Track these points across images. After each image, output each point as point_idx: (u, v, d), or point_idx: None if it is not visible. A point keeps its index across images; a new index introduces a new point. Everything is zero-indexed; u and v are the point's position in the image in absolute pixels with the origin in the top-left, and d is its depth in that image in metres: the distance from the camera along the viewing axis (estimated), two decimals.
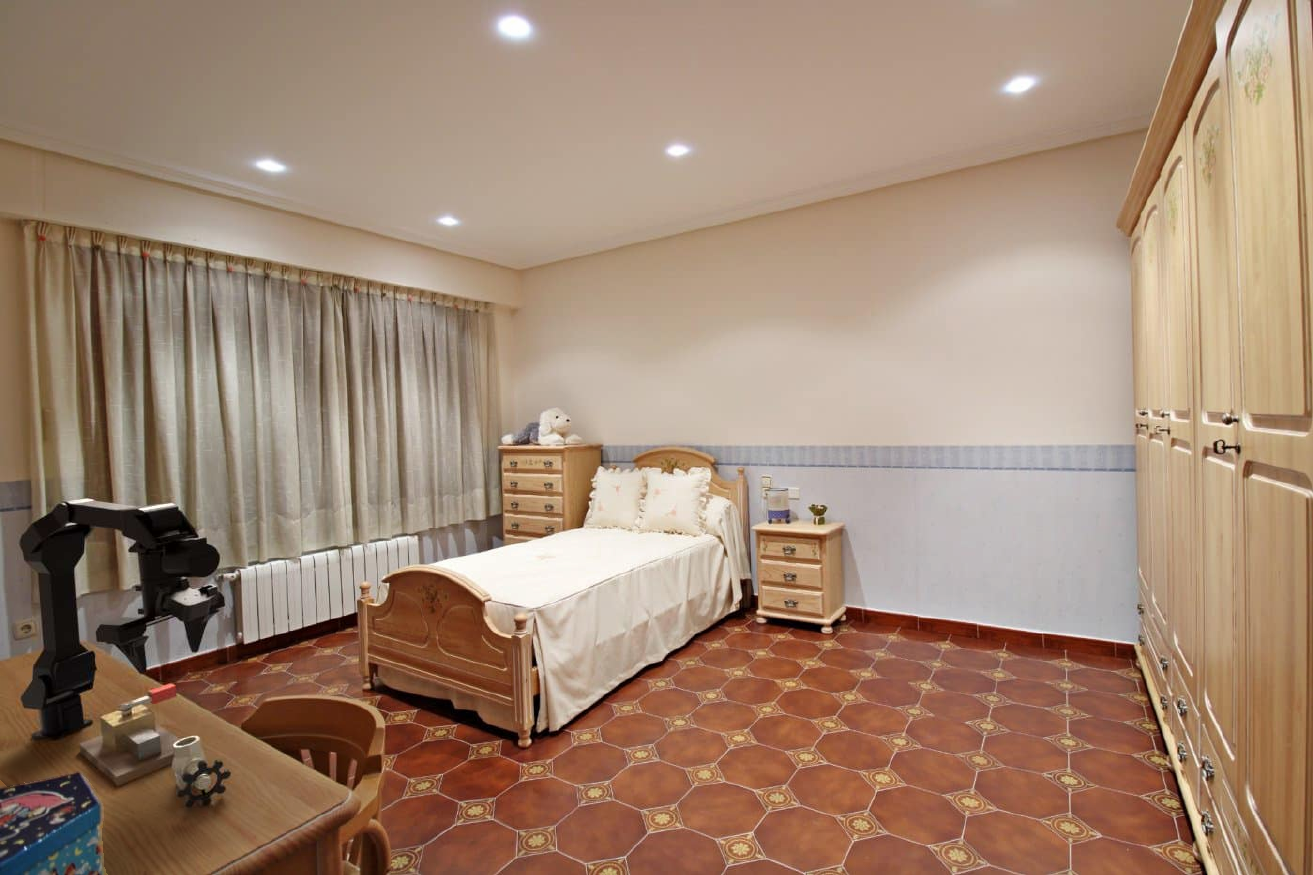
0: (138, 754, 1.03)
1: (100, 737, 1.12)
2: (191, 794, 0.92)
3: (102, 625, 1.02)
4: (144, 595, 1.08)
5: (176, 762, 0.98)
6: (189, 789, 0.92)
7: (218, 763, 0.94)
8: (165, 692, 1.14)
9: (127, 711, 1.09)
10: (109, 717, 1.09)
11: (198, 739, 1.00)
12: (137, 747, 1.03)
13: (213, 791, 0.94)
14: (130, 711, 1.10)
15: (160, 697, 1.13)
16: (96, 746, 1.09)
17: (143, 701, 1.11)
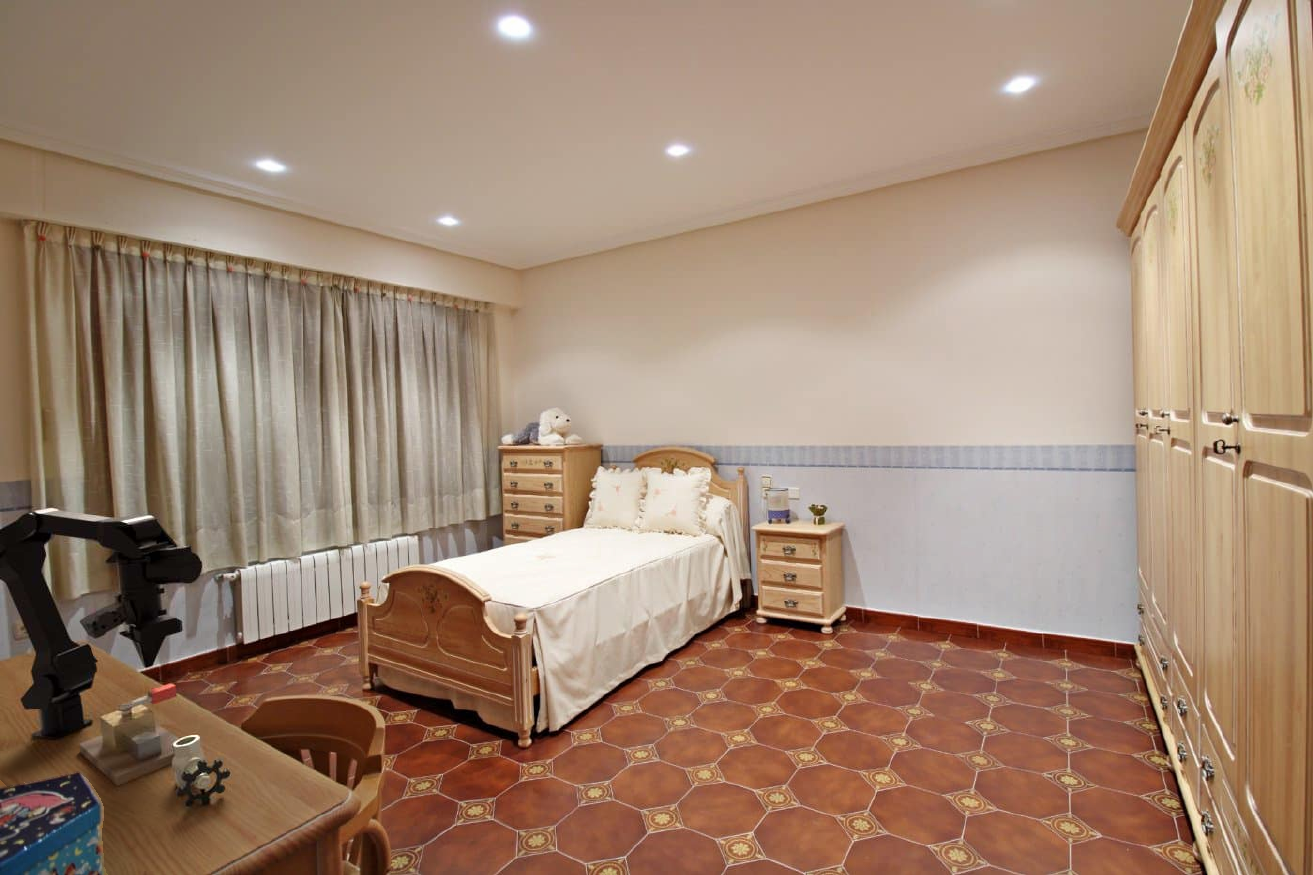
0: (138, 754, 1.03)
1: (100, 737, 1.12)
2: (191, 793, 0.92)
3: None
4: None
5: (176, 761, 0.98)
6: (189, 788, 0.92)
7: (218, 762, 0.94)
8: (165, 692, 1.14)
9: (127, 711, 1.09)
10: (109, 717, 1.09)
11: (198, 738, 1.00)
12: (137, 747, 1.03)
13: (212, 790, 0.94)
14: (130, 711, 1.10)
15: (160, 697, 1.13)
16: (96, 746, 1.09)
17: (143, 701, 1.11)
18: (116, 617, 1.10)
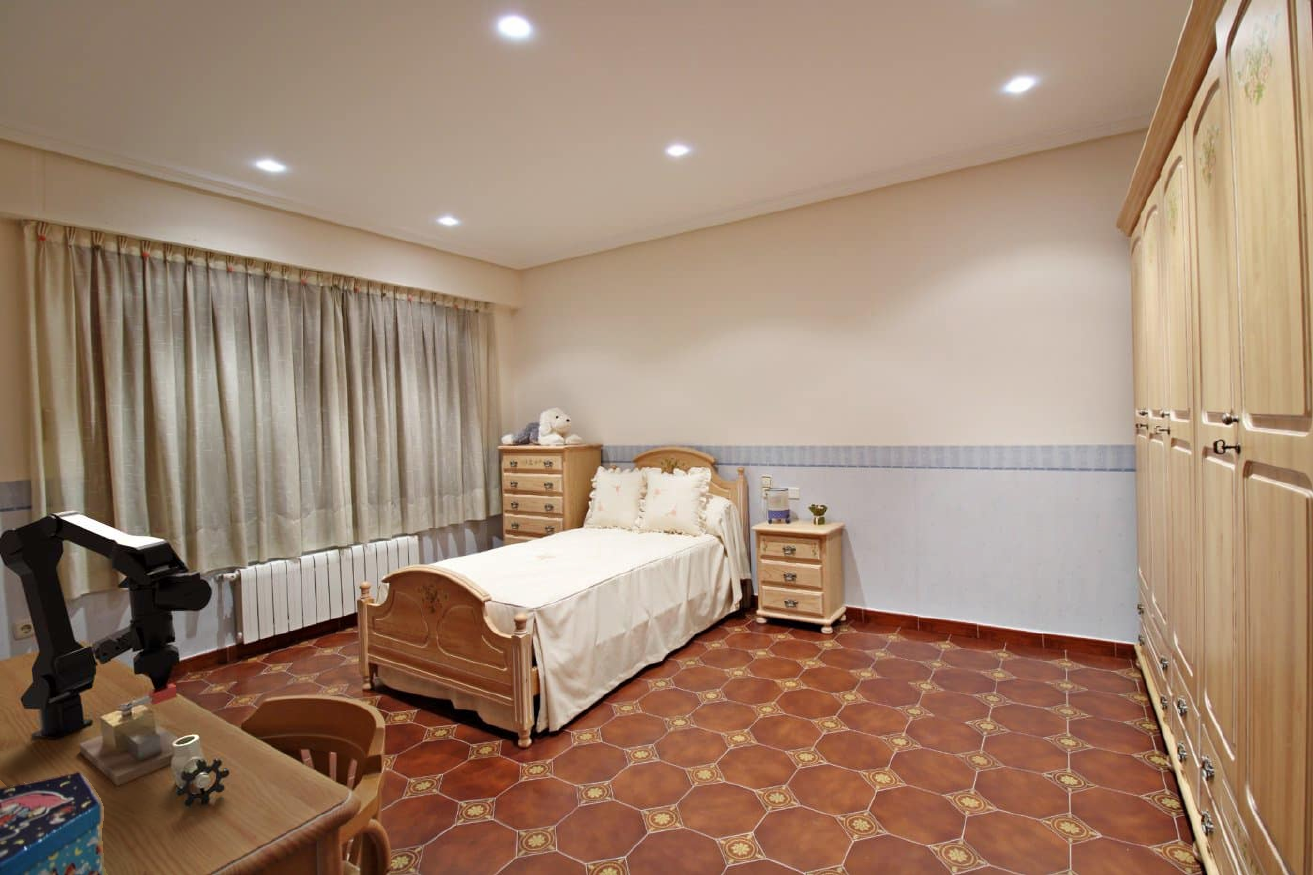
0: (138, 754, 1.03)
1: (100, 737, 1.12)
2: (190, 793, 0.92)
3: None
4: None
5: (175, 761, 0.98)
6: (188, 788, 0.92)
7: (217, 762, 0.94)
8: (165, 692, 1.13)
9: (127, 711, 1.09)
10: (109, 717, 1.09)
11: (197, 738, 1.00)
12: (137, 747, 1.03)
13: (212, 789, 0.94)
14: (130, 711, 1.10)
15: (160, 697, 1.13)
16: (96, 746, 1.09)
17: (143, 701, 1.11)
18: (118, 645, 1.08)
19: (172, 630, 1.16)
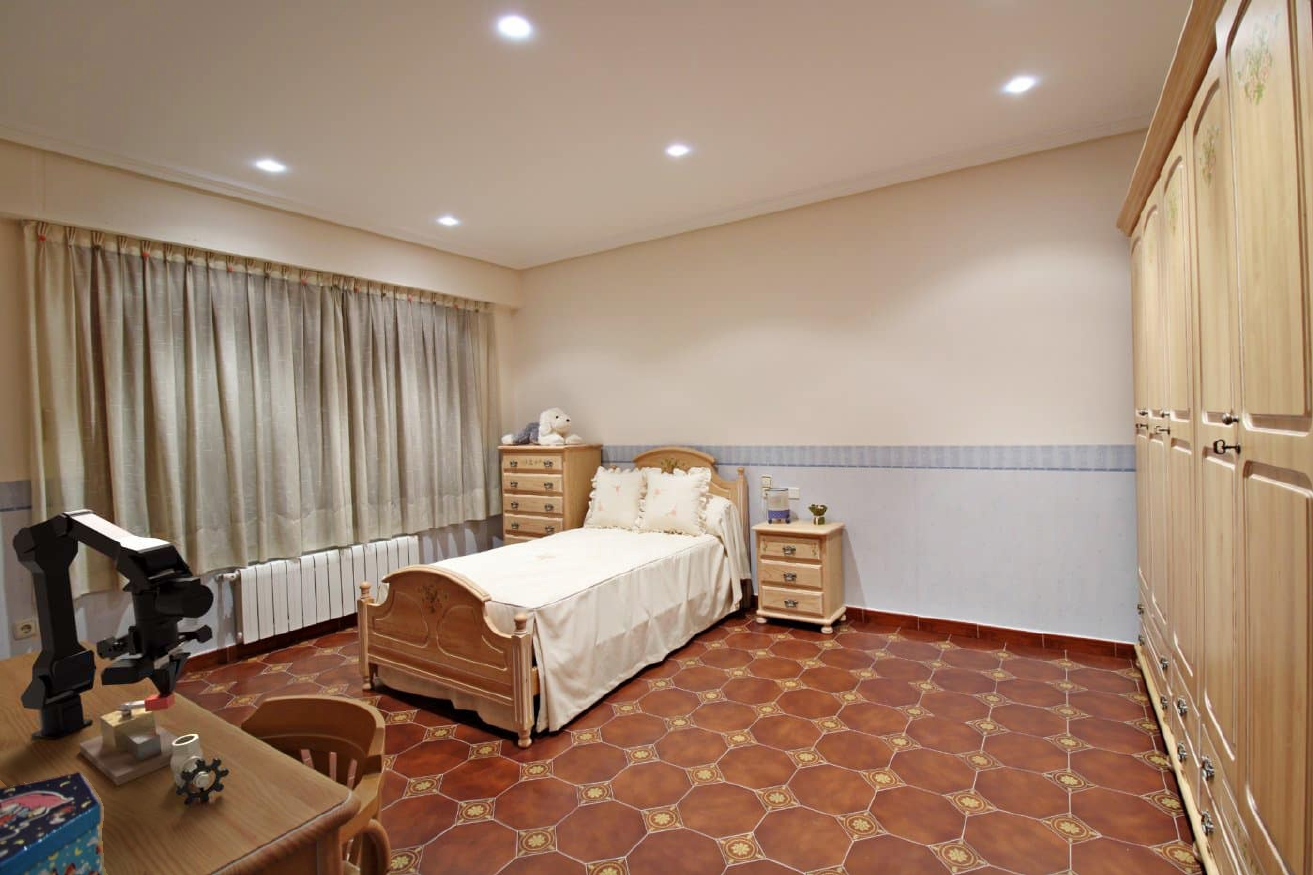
0: (138, 754, 1.03)
1: (100, 737, 1.12)
2: (189, 792, 0.92)
3: None
4: None
5: (175, 760, 0.98)
6: (187, 787, 0.92)
7: (216, 761, 0.95)
8: (156, 702, 1.10)
9: (127, 711, 1.09)
10: (109, 717, 1.09)
11: (196, 737, 1.00)
12: (137, 747, 1.03)
13: (211, 789, 0.94)
14: (130, 711, 1.10)
15: (152, 706, 1.10)
16: (96, 746, 1.09)
17: (137, 706, 1.09)
18: (110, 647, 1.07)
19: (169, 639, 1.11)
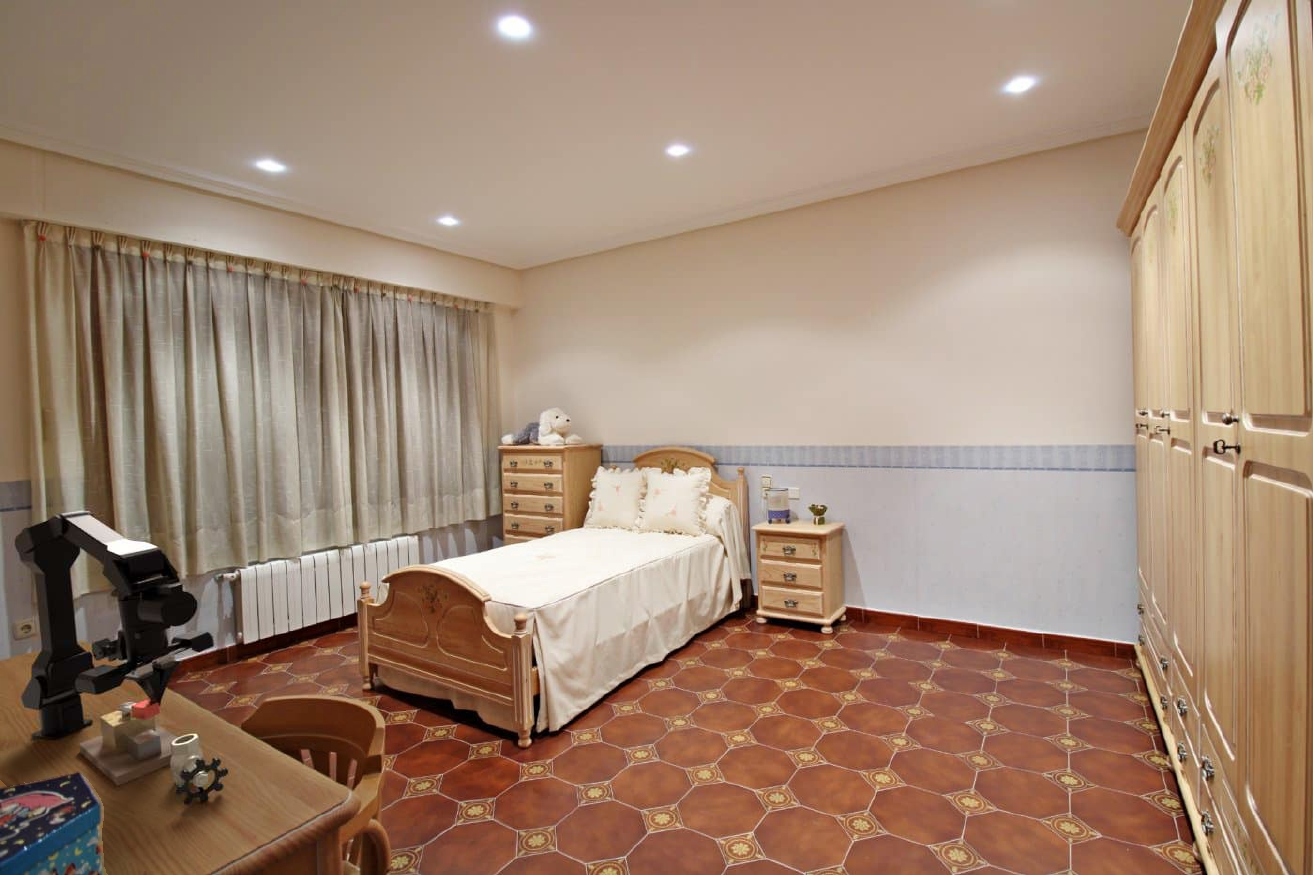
0: (138, 754, 1.03)
1: (100, 737, 1.12)
2: (189, 791, 0.92)
3: None
4: None
5: (174, 760, 0.98)
6: (187, 786, 0.92)
7: (216, 761, 0.95)
8: (138, 710, 1.07)
9: None
10: (109, 717, 1.09)
11: (196, 737, 1.00)
12: (137, 747, 1.03)
13: (211, 788, 0.94)
14: None
15: (136, 713, 1.07)
16: (96, 746, 1.09)
17: (129, 709, 1.08)
18: (100, 650, 1.06)
19: (151, 648, 1.07)
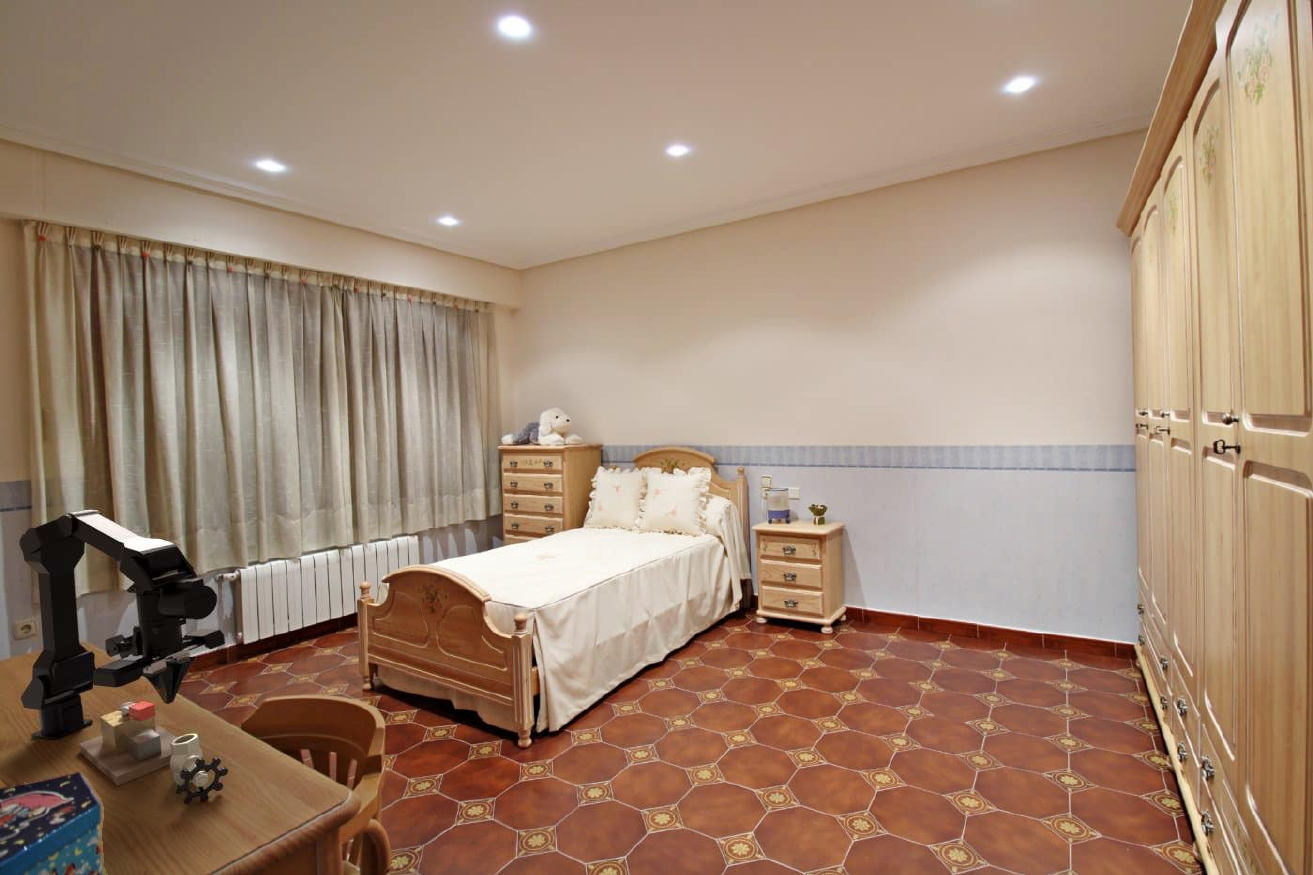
0: (138, 754, 1.03)
1: (100, 737, 1.12)
2: (189, 791, 0.93)
3: (217, 629, 1.18)
4: None
5: (174, 759, 0.98)
6: (187, 786, 0.92)
7: (216, 760, 0.95)
8: (134, 712, 1.06)
9: None
10: (109, 717, 1.09)
11: (196, 737, 1.01)
12: (137, 747, 1.03)
13: (211, 788, 0.95)
14: None
15: (132, 714, 1.07)
16: (96, 746, 1.09)
17: (127, 710, 1.08)
18: (115, 646, 1.07)
19: (167, 643, 1.08)
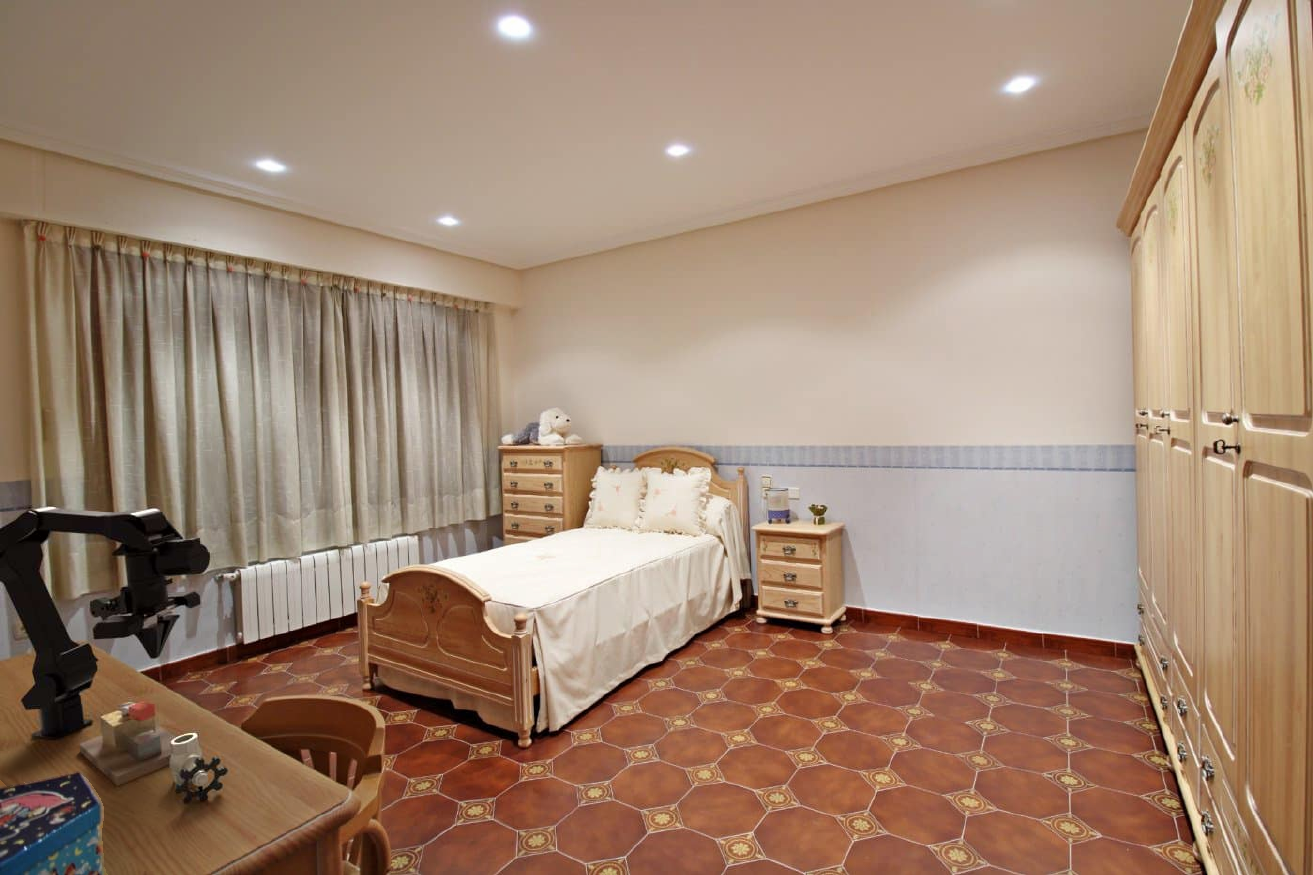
0: (138, 754, 1.03)
1: (100, 737, 1.12)
2: (188, 790, 0.93)
3: (191, 591, 1.27)
4: None
5: (174, 759, 0.98)
6: (186, 786, 0.92)
7: (215, 760, 0.95)
8: (134, 712, 1.06)
9: None
10: (109, 717, 1.09)
11: (195, 736, 1.01)
12: (137, 747, 1.03)
13: (210, 787, 0.95)
14: None
15: (132, 714, 1.07)
16: (96, 746, 1.09)
17: (127, 710, 1.08)
18: (103, 606, 1.14)
19: (159, 600, 1.17)
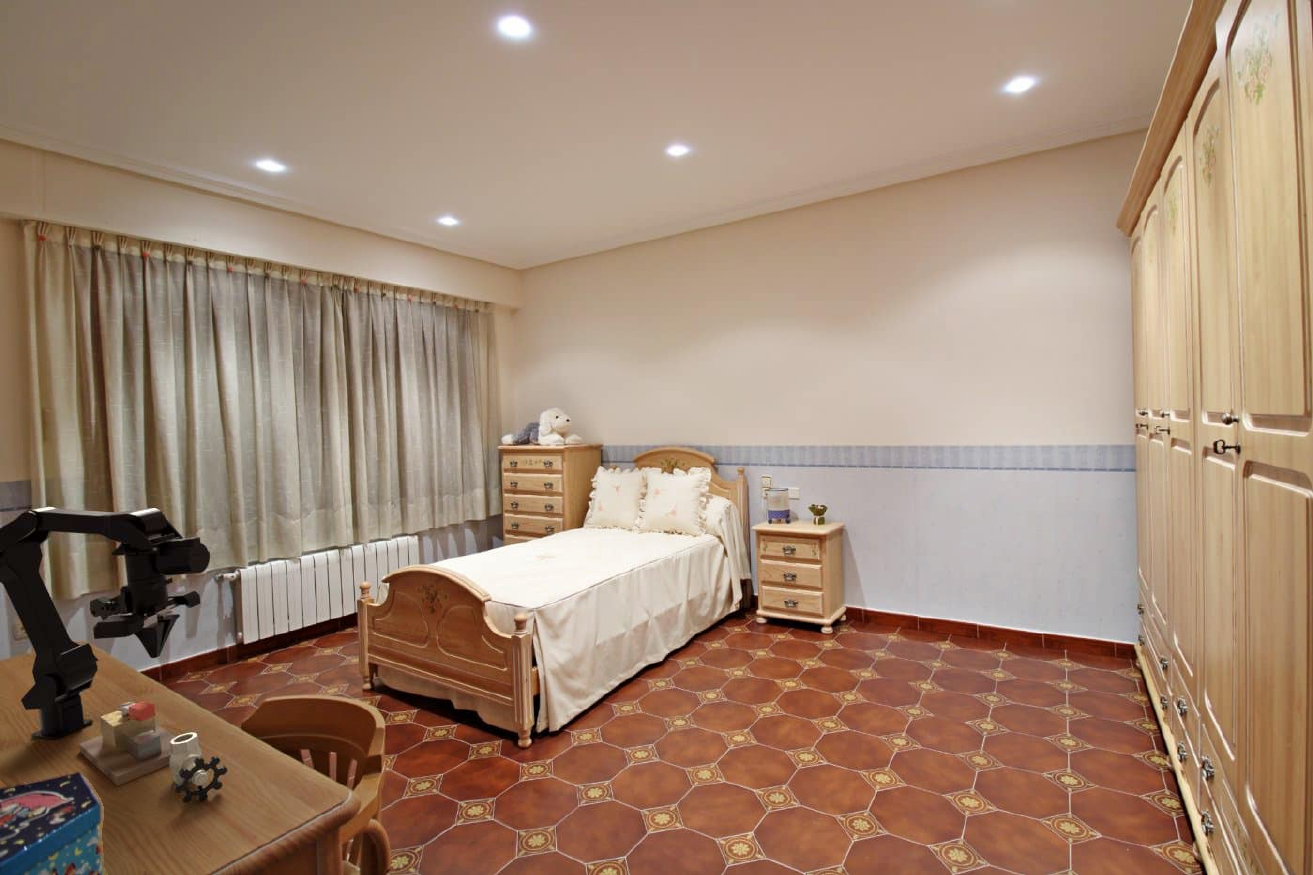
0: (138, 754, 1.03)
1: (100, 737, 1.12)
2: (188, 790, 0.93)
3: (191, 591, 1.27)
4: None
5: (173, 758, 0.99)
6: (186, 785, 0.93)
7: (215, 759, 0.95)
8: (134, 712, 1.06)
9: None
10: (109, 717, 1.09)
11: (195, 736, 1.01)
12: (137, 747, 1.03)
13: (210, 787, 0.95)
14: None
15: (132, 714, 1.07)
16: (96, 746, 1.09)
17: (127, 710, 1.08)
18: (103, 606, 1.14)
19: (159, 599, 1.17)
